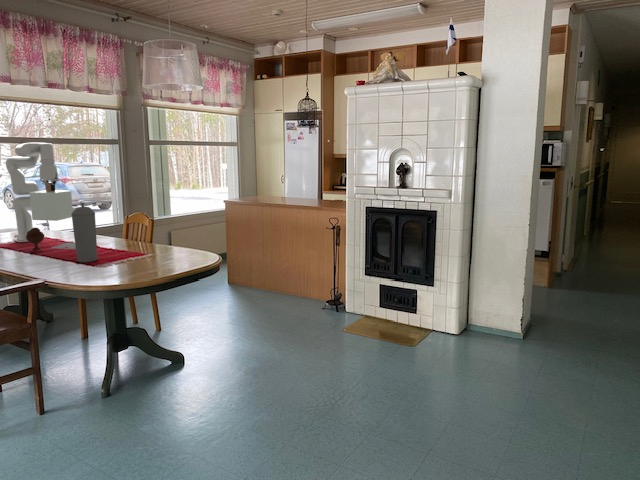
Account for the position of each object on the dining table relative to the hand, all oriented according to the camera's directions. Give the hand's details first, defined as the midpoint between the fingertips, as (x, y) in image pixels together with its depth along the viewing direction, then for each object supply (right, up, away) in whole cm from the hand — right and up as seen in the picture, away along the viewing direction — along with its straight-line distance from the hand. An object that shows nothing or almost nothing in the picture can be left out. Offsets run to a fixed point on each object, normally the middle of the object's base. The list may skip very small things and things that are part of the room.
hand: (50, 190), depth 317 cm
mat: (+8, -37, +13) cm, 40 cm away
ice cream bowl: (-10, -39, +1) cm, 41 cm away
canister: (+39, -45, -29) cm, 66 cm away
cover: (0, -18, +4) cm, 19 cm away
